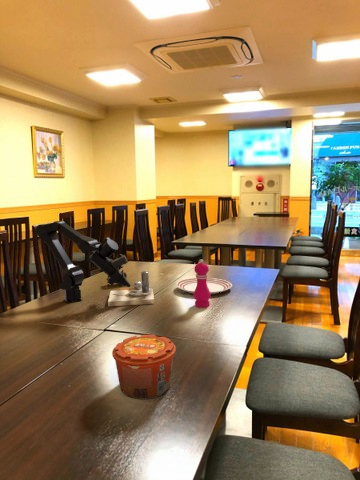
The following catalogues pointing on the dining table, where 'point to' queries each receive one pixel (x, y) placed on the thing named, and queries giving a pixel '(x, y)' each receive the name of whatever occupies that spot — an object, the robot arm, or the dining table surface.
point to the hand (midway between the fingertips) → (129, 286)
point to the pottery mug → (124, 275)
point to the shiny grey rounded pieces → (140, 286)
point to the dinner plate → (212, 284)
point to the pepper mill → (202, 285)
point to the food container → (144, 365)
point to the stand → (129, 298)
